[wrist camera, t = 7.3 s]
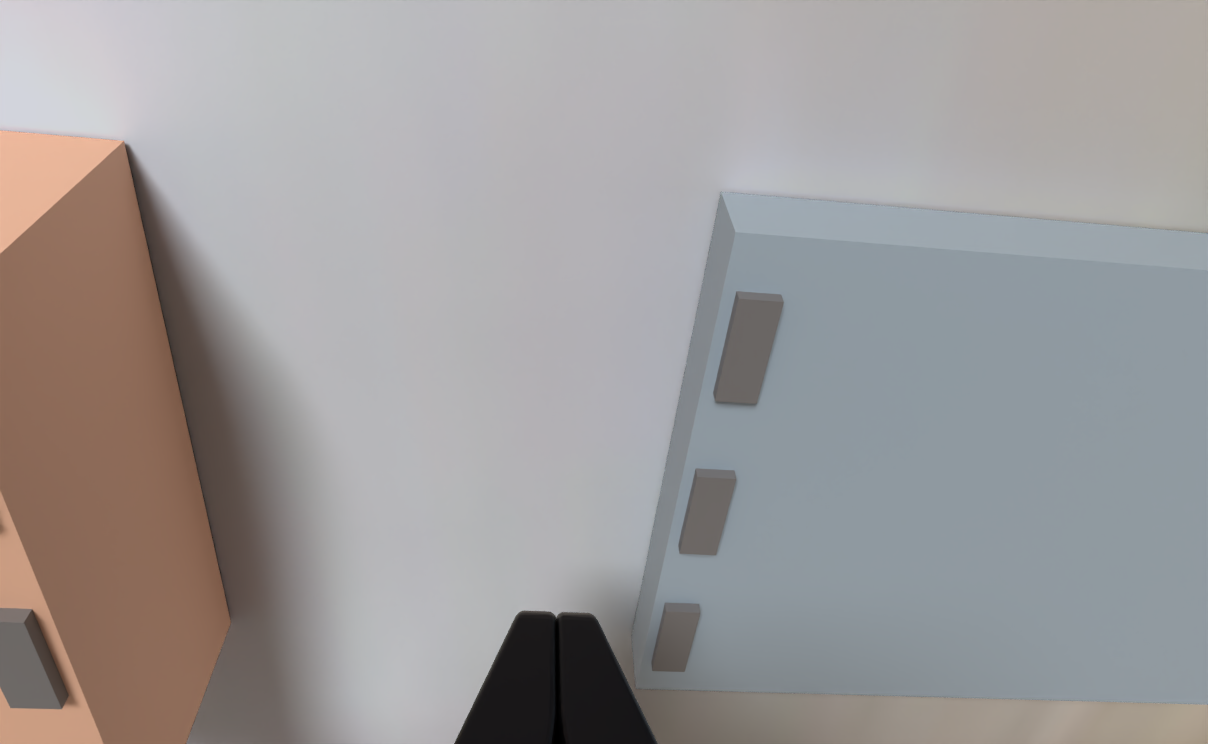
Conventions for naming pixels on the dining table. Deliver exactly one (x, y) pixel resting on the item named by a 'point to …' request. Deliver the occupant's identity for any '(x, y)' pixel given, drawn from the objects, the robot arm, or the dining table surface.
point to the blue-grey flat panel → (936, 461)
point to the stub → (94, 466)
